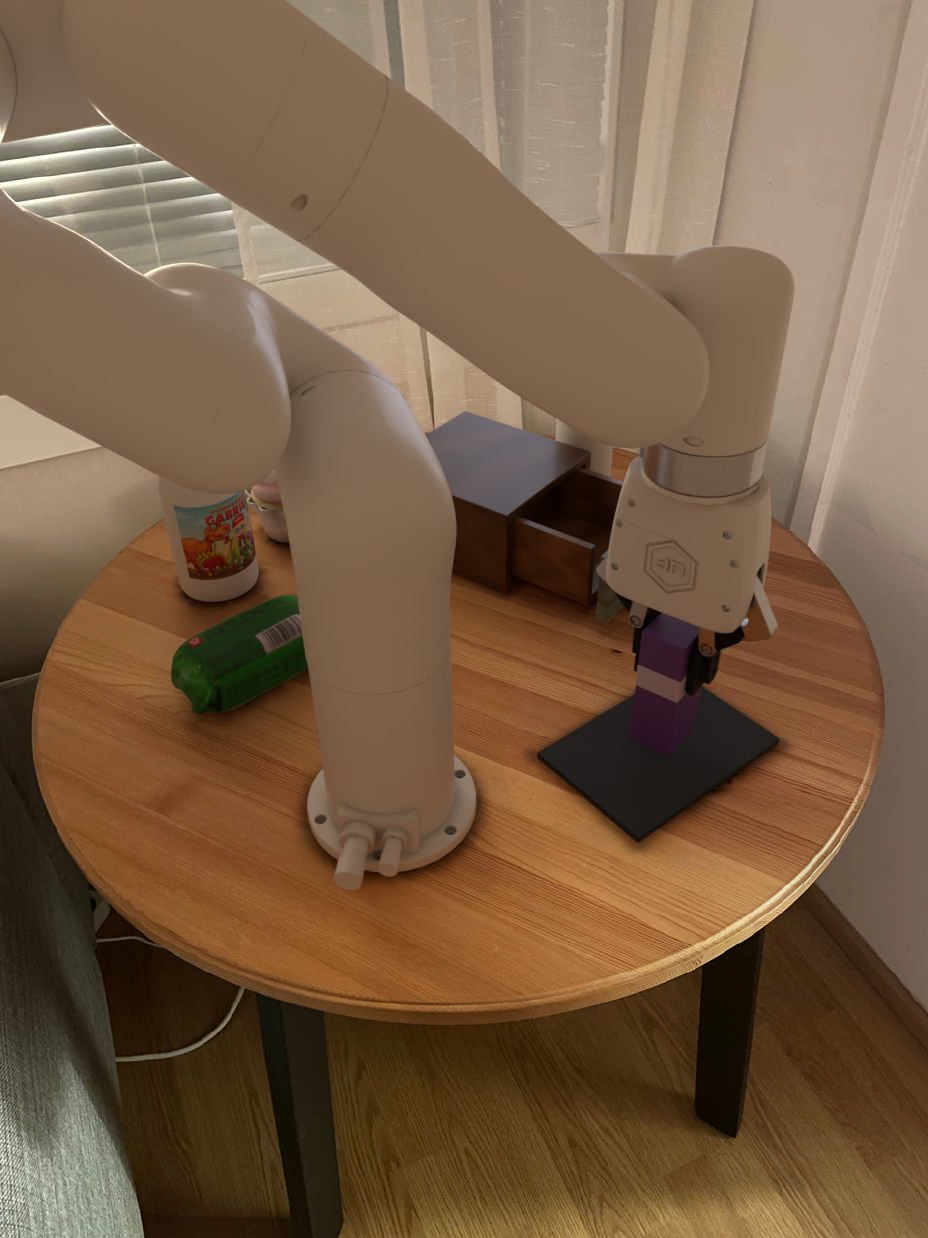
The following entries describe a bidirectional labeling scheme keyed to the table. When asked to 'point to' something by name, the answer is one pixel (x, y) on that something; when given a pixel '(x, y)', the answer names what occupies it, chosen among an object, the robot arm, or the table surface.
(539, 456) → the cabinet
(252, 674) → the snack package
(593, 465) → the paper towel roll
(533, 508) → the drawer
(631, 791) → the mat
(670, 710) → the snack carton
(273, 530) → the cupcake
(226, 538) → the milk bottle
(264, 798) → the table surface
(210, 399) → the robot arm
